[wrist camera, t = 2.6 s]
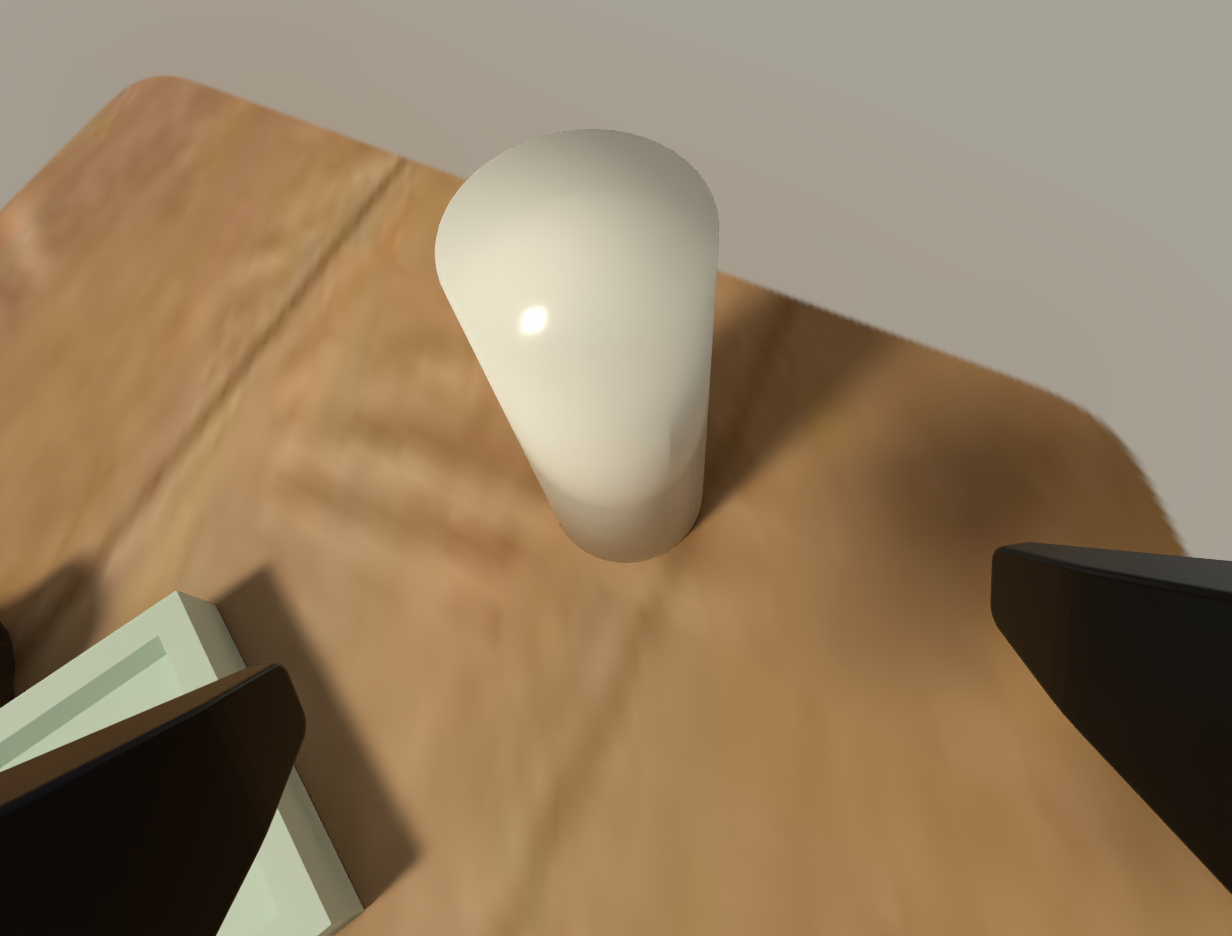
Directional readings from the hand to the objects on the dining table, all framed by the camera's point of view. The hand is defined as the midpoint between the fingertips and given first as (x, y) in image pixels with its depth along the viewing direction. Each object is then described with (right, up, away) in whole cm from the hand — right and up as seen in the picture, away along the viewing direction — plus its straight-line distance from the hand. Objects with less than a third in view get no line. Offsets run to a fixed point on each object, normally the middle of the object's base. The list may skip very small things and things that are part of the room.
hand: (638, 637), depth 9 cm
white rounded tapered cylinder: (0, +1, +15) cm, 15 cm away
